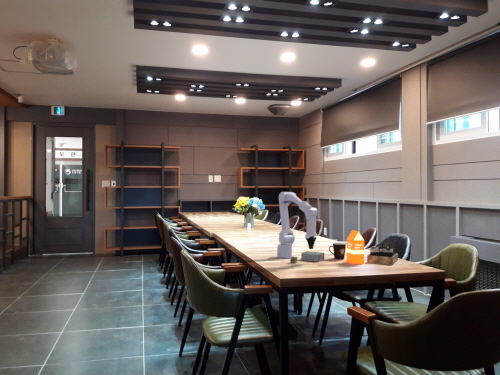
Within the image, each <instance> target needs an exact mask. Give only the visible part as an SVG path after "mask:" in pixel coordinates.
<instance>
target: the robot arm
mask: <svg viewBox="0 0 500 375" xmlns="http://www.w3.org/2000/svg"><path fill="white" fill-rule="evenodd" d="M278 194H279V195H278V205H279V213H280V214H279V215H280V223H281V231H280V232H279V233H278V242H279V243H278V244H277V247H276V248H277V249H276V250H277V252H276V254H277V256H276V258H280V259H289V260H290V259H291V257H295V256H293V245H294V243H295V235H294V231H292V230H291V227H290V226H291V225H290V217H289V210H288V209H289V208H288V207H289V205H291V203H294V204H296V205H297V206H298V208H299V210H301V211H302V212H303V213H304V216H305V220H306V234H305V235H304V239H305V240H306V242H307V246H308V249H309V250H313V249H314V247H315V242H316V240H317V236H318V233H317V217H318V214H319V211H318V208H317V207H313V206H312V205H310V203H308V202H307V201H306V200H305V201H302V199H300V198H299V197H298V196H297V193H295V192H293V191H281V192H280V193H278Z"/></svg>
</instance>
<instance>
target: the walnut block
mask: <svg viewBox="0 0 500 375" xmlns="http://www.w3.org/2000/svg"><path fill="white" fill-rule="evenodd" d="M289 261H290V264H297V263H298V256H294V257H291V258H290V259H289Z"/></svg>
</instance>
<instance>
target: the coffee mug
mask: <svg viewBox="0 0 500 375" xmlns="http://www.w3.org/2000/svg"><path fill="white" fill-rule="evenodd" d="M331 247H332V249H333V252H332V250H331ZM346 250H347V243H344V242H332V245H330V246H329V247H328V251H329V252H330V253H331V254H332V255H333V258H334V259H335V260H339V261H340V260H345V256H346Z"/></svg>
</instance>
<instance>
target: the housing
mask: <svg viewBox="0 0 500 375" xmlns="http://www.w3.org/2000/svg"><path fill="white" fill-rule="evenodd" d="M301 254H312V255H318V262H317V263H320V262H321V261H324V260H325V252H320V251H309V250H307V251H304V252H301Z"/></svg>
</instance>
